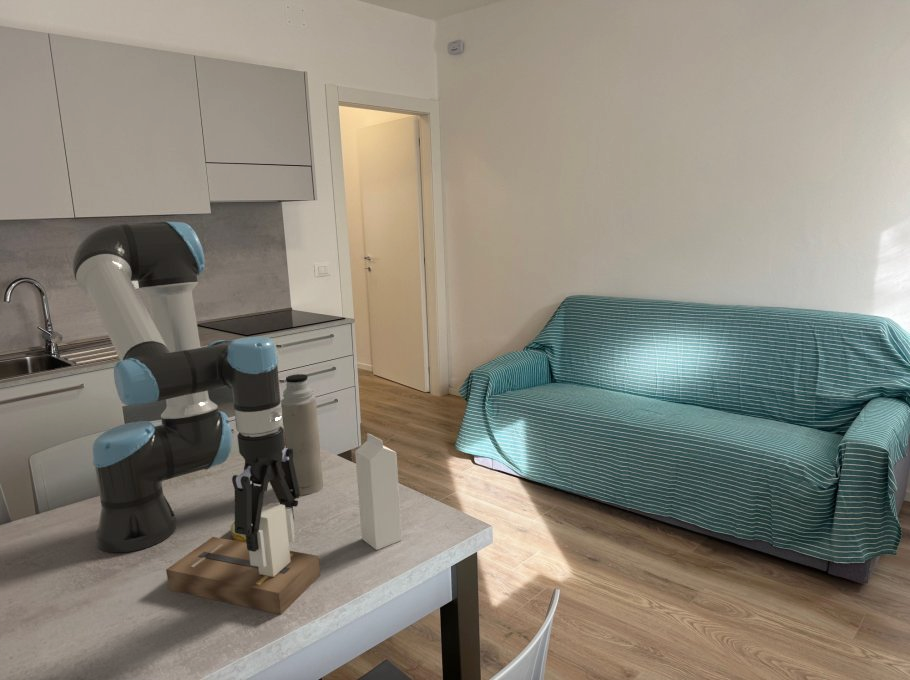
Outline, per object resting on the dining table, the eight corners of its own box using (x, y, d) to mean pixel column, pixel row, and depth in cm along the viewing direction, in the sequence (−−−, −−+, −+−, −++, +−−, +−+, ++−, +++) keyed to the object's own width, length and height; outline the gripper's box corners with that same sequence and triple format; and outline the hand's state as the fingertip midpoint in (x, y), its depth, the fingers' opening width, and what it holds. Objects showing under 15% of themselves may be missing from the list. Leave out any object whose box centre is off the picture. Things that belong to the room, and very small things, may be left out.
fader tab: (259, 574, 112) (252, 515, 110) (276, 559, 116) (270, 502, 114) (273, 576, 111) (267, 518, 108) (290, 561, 115) (284, 505, 113)
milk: (376, 550, 126) (368, 445, 121) (361, 538, 131) (353, 436, 126) (402, 540, 130) (395, 436, 125) (387, 528, 134) (379, 428, 130)
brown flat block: (169, 589, 116) (166, 568, 115) (215, 555, 127) (212, 536, 126) (281, 614, 107) (278, 592, 106) (320, 575, 118) (318, 555, 117)
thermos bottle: (284, 494, 152) (273, 380, 147) (297, 480, 160) (286, 371, 154) (316, 495, 151) (306, 380, 146) (327, 481, 159) (318, 371, 153)
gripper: (238, 454, 97) (253, 589, 102) (313, 412, 116) (323, 527, 121) (198, 449, 100) (216, 581, 105) (278, 409, 119) (289, 522, 124)
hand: (273, 552), depth 113 cm, fingers open, 8 cm apart
